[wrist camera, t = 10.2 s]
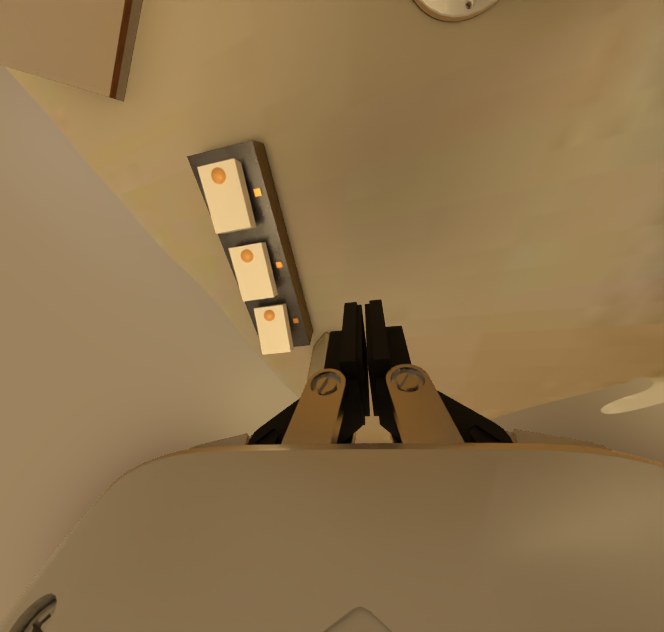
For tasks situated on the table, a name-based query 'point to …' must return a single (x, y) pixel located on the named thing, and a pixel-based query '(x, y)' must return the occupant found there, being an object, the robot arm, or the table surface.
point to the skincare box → (318, 355)
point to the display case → (71, 41)
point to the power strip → (263, 233)
